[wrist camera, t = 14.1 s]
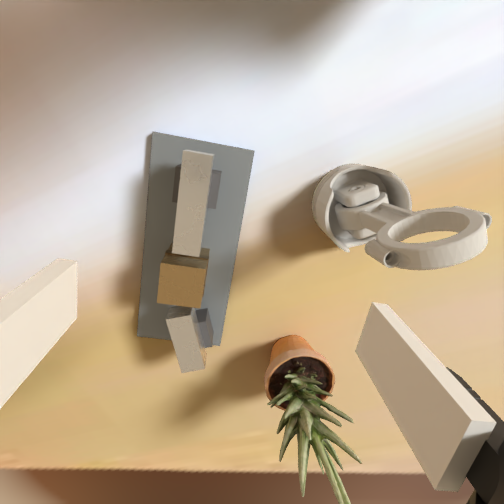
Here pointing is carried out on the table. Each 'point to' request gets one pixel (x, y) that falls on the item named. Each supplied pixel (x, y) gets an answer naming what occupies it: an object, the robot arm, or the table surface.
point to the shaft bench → (214, 238)
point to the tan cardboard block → (182, 278)
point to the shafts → (190, 253)
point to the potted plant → (306, 406)
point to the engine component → (393, 220)
